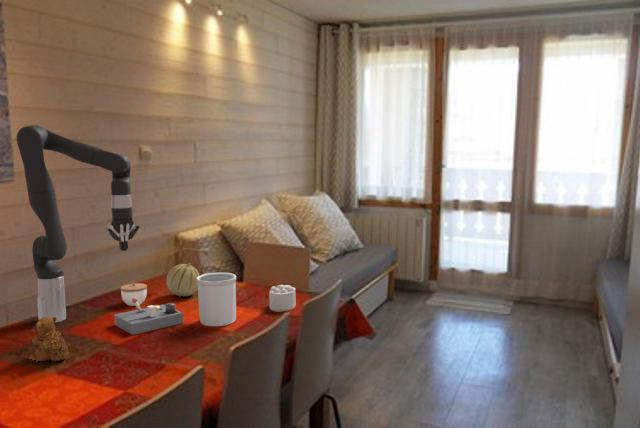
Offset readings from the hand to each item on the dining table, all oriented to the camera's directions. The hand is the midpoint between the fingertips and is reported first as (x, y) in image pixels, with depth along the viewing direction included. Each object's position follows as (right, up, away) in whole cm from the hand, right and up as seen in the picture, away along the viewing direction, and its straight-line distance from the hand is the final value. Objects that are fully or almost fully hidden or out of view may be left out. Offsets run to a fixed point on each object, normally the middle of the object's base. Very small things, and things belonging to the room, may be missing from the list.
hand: (123, 250), depth 215 cm
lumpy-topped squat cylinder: (+60, -25, +17) cm, 68 cm away
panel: (+11, -28, -4) cm, 30 cm away
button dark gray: (+19, -23, -3) cm, 30 cm away
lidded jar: (-4, -25, +24) cm, 34 cm away
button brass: (+12, -25, +1) cm, 28 cm away
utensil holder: (+37, -27, -1) cm, 46 cm away
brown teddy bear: (-9, -32, -39) cm, 51 cm away
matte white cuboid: (+13, -24, -8) cm, 29 cm away
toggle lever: (+7, -23, -2) cm, 25 cm away
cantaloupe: (+14, -23, +36) cm, 45 cm away
